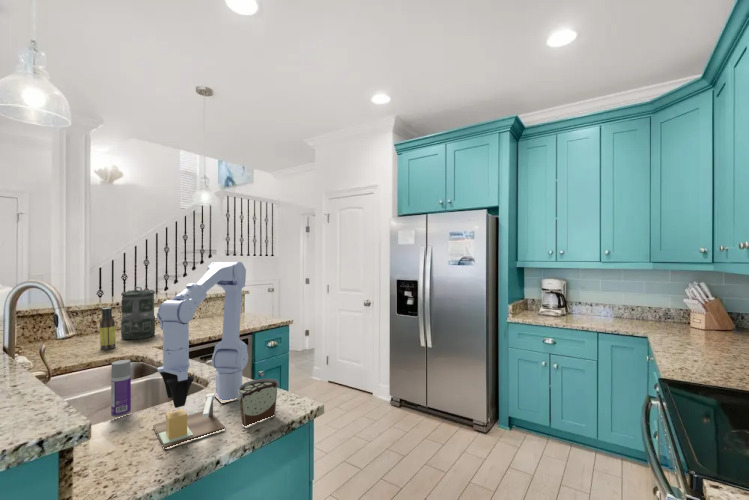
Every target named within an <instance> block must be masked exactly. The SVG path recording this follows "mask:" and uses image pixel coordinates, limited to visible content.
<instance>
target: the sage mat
mask: <svg viewBox="0 0 749 500" xmlns="http://www.w3.org/2000/svg"><path fill="white" fill-rule="evenodd" d="M159 436H160V438H161V440H162V442H163V444H164V445H165V444H168V443H172V442H175V441H178V440H181V439H184V438H187V437H191V436H193V433H192V432H191V431H190V429H189V428H188V426H187V434H186V435H183V436H179V437H176V438H173V439H170V440H169V438H168V436H167V435H166V431H165V432H162V433H159Z"/></svg>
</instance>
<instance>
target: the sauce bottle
mask: <svg viewBox="0 0 749 500" xmlns="http://www.w3.org/2000/svg"><path fill="white" fill-rule="evenodd" d="M112 311H113V308H112V307H103V308H101V314H102V315H101V319H100V321H99V345H100V349H101V350H111V349H115V347H116V346H117V345H116V341H117V339H116V337H117V336H116V322H115V319H114V317H113V312H112Z"/></svg>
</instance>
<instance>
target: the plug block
mask: <svg viewBox="0 0 749 500" xmlns="http://www.w3.org/2000/svg"><path fill="white" fill-rule="evenodd" d="M187 415H188V413H187V412H186V411H185V409H184V408H181V409H178V410H175V411H170V412H166V413H165V421H166V435H167V436H168V438H169V440H170V439H173V438H176V437H179V436H183V435H186V434H187Z"/></svg>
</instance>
